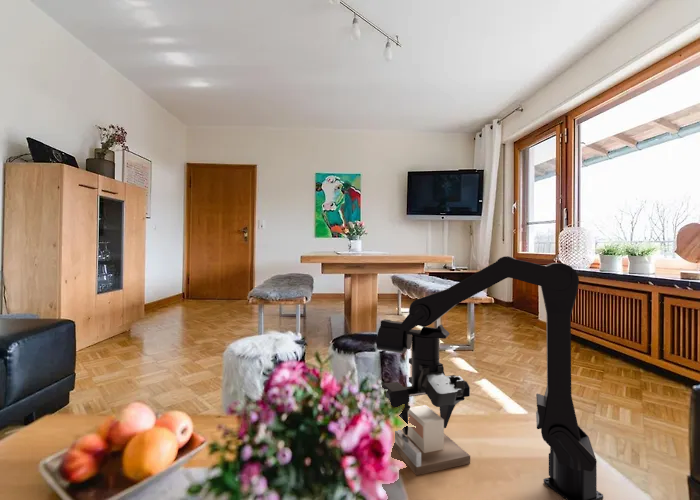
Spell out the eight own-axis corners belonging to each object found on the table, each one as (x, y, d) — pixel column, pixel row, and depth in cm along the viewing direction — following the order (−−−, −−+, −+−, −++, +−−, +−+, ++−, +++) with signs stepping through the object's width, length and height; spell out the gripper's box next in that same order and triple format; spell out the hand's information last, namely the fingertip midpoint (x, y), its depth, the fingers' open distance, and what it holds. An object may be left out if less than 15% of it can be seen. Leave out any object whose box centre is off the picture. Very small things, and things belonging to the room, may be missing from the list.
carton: (425, 432, 76) (425, 405, 76) (443, 449, 69) (444, 419, 69) (407, 435, 74) (407, 407, 74) (424, 453, 67) (424, 422, 68)
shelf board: (470, 463, 67) (470, 442, 67) (414, 475, 63) (415, 453, 63) (431, 428, 80) (431, 411, 80) (383, 437, 76) (383, 419, 76)
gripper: (403, 373, 61) (403, 460, 61) (488, 363, 67) (488, 443, 67) (379, 356, 72) (378, 430, 72) (454, 349, 78) (453, 417, 77)
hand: (425, 430), depth 72 cm, fingers open, 9 cm apart
